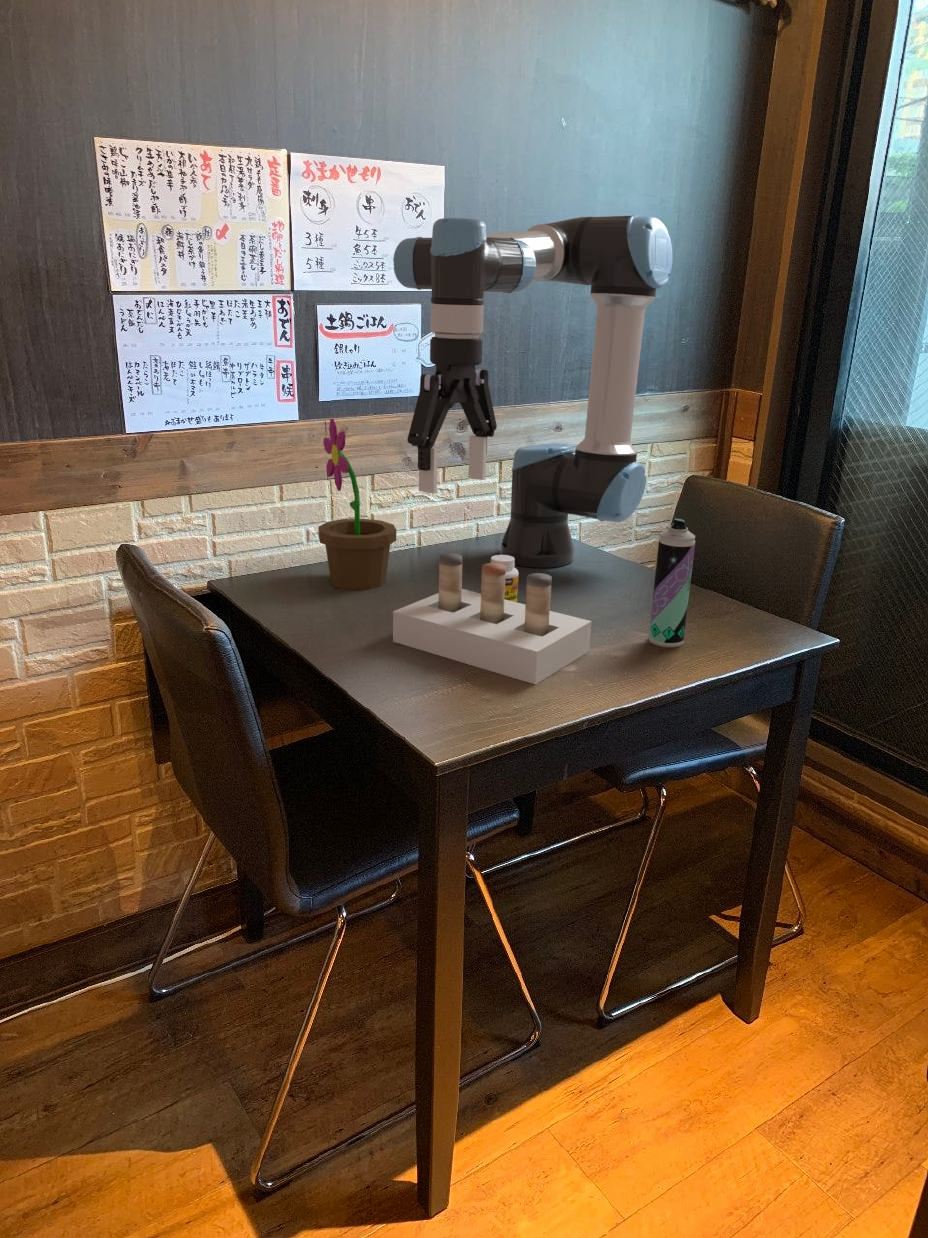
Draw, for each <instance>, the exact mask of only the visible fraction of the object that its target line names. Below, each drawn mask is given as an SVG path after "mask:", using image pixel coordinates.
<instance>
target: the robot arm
mask: <svg viewBox="0 0 928 1238" xmlns="http://www.w3.org/2000/svg"><path fill="white" fill-rule="evenodd" d="M431 235H432V236H431V237H422V236H416V237H409V238H407V237H406V238H405V239H403V240H401V241H400V242H399V243H398V244H397V245H396V248H395V250H394V254H393V257H392V262H393V272H394V273H393V274H394V275H395V277H396V279H397V281H398V282H399V284H400V285H402V286H403V287H405V288H408V289H415V290H416V289H417V290H418V291H421V290H431V297H430V303H431V304H430V305H431V307H430V309H431V310H430V332H431V333H432V334H434V336H431V338H430V340H429V342H430V343H429V360H430V363H431V364H433V365H434V366H435V371H434V374H427V373H422V374H421V375H420V378H419V379H420V380H419V382H420V383H419V393H418V397H417V400H416V404H415V408H414V411H413V415H412V416H413V417H412V418H411V419H412V420H411V424H410V428H409V431H408V435H407V443H408V444H410V445H411V446H412V447H417V469H418V492H422V493H428V494H432V495H433V494H437V489H438V487H437V486H438V447H434V445H435V444H436V443H435V442H436V441H437V439H438V436H439V434H440V431H441V429H442V426H443V424H444V421H445V420H446V417H447V415H448V413H449V411H450V409H452V408H453V407H454V405H455V404H458V403H459V404H460V405H461V407H462V410H463V414H464V415H465V417H466V419H467V421H468V422H467V423H468V424H469V426H470V429H471V431H472V433H473V435H469V439H468V440H469V441H468V472H467V473H468V478H469V479H474V480H479V481H484V480H486V469H487V454H488V437H489V438H493V437H494V435H495V431H496V430H497V427H498V426H497V421H496V415H495V411H494V407H493V406H494V405H493V402H492V401H493V400H492V396H491V392H490V391H491V390H490V386H489V370H488V369H481V368H476V366H479V365H481V364H482V362H483V340H482V338H480V335H482V334H483V333H484V315H485V314H484V312H485V310H484V309H485V308H484V307H485V305H484V302H485V301H484V300H485V298H484V297H485V296H484V295H485V293H503V294H506V293H507V294H512V293H513V292H520V291H523V290H524V289H526V288H527V287H529V286H530V285H531V283H532V281H533V280H534V281H536V282H546V281H547V282H549V281H550V282H557V283H558V282H559V283H565V284H573V285H581V286H583V285H584V286H590V295H589V296H590V297H591V299H592V300H593V301H594V302H595V303H596V306H597V309H596V317H595V318H596V320H595V328H594V337H593V338H594V339H593V348H592V358H591V359H592V360H591V369H590V370H591V372H590V379H589V381H590V382H589V389H588V400H587V411H586V418H585V419H586V421H585V430H584V431H585V432H584V438H583V440H582V441H581V442H579V443H578V444H577V445H576V446H575V452H574V449H573V445H572V444H569V443H561V442H559V443H542V444H541V443H540V444H532V445H531V444H530V445H525V446H521V447H519V448H518V449H516V450H515V452H514V455H513V461H512V467H511V472H512V474H511V493H510V498H511V499H510V500H511V501H510V518H509V522H508V525H507V527H506V531H505V533H504V535H503V538H502V541H501V544H500V553H499V555H509V556H512V557H514V559H515V566H516V565H517V566H521V567H527V568H528V567H530V568H542V569H543V568H544V569H545V568H556V567H562V566H567V565H569V564H571V563H573V561H574V559H575V558H574V557H575V547H574V544H573V543H574V542H573V539H572V535H571V531H570V527H569V521H568V520H569V515H571V516H572V515H573V516H577V517H578V516H579V517H584V518H589V519H594V520H597V521H600V522H610V523H622V522H625V521H626V520H628V519H629V518H630V517H631V516H632V515H633V514H634V513H635V512H636V509H637V508H638V507H639V504H640V503H641V501H642V499H643V497H644V493H645V490H646V485H647V474H646V469H645V468H646V467H645V466H644V465H643V464H641V463H640V462H638V461H637V456H638V451H637V449H636V448H635V447H634V446H633V444H632V443H631V438H632V430H633V429H632V428H633V420H634V410H635V403H636V395H637V394H636V393H637V387H638V386H637V385H638V375H639V368H640V367H639V365H640V357H641V349H642V340H643V333H644V332H643V331H644V325H645V324H644V323H645V315H646V309H647V307H648V306H649V305H651V303H652V302H654V301H655V299H656V294H657V293H656V292H657V289H660V288H662V287H664V286H666V284H667V283H668V281H669V277H670V276H671V273H672V268H673V267H672V266H673V247H672V241H671V236H670V235H669V233H668V228H667V227H666V226H665V224H664V223H663V222H662V221H661V220H660V219H659V218H656V217H654V216H646V215H645V216H643V215H642V216H641V215H634V214H633V215H618V216H614V215H613V216H580V217H574V218H568V219H563V220H559V221H554V222H550V223H549V222H548V223H540V224H539V223H538V224H535V225H533V226H531V227H530V228H528V229H527V230H526V231H511V232H498V233H497V232H496V233H487V227H486V223H485V221H484V220H481V219H478V218H465V217H464V218H463V217H462V218H461V217H460V218H459V217H447V218H444V217H443V218H438V219H437V220H435V221H434V222H433V225H432V233H431Z"/></svg>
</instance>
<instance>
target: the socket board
mask: <svg viewBox="0 0 928 1238" xmlns="http://www.w3.org/2000/svg"><path fill="white" fill-rule="evenodd" d="M438 601H439V592H438V593H437V592H436V593H435V594H432V595H430V596H428V597H426V598H423V599H420V600H417V601H415V602H412V603H411V604H408V605H406V606H402V607H401V608H398V609H395V610H393V611H392V642H393V643H397V644H400V645H403V646H406V647H410V648H413V649H417V650H420V651H423V652H426V653H429V654H433V655H436V656H440V657H443V658H447V659H450V660H452V661H457V662H460V663H463V664H467V665H469V666H472V667H475V668H479V669H482V670H485V671H488V672H492V673H496V674H500V675H502V676H505V677H510V678H513V679H517V680H519V681H522V682H527V683H529V684H531V685H537V684H539V683H541V682H542V681H543V680H545V679H547V678H549V677H550V676H551V675H553V674H556V673H557V672H558V671H560V670H562V669H563V668H564V667H566V666H568V665H569V664H571V663H573V662H575V661H576V660H578V659H579V658H581V657H582V656H584V655H586V654H587V653H589V652H590V643H591V632H592V631H591V630H592V622H593V621H592V620H588V619H583V618H581V617H577V616H576V617H575V616H573V615H568V614H564V613H560V612H556V611H552V610H550V613H549V629H548V634H546V635H544V636H543V637H542V636H538V635H534V634H531V633H527V632H524V624H525V606H526V603H525V604H524V603H520V602H518V601H517V602H513V601H509V600H505V599H504V617H503V621H502V622H500V623H498V624H493V623H490V622H486V621H482V620H480V606H481V592H478V591H477V592H476V591H472V590H468V589H464V588H462V593H461V610H458V611H456V612H454V613H452V612H449V611H445V610H441V609H438Z"/></svg>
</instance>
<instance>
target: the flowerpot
mask: <svg viewBox="0 0 928 1238" xmlns="http://www.w3.org/2000/svg"><path fill="white" fill-rule="evenodd" d="M328 427H329V428H328V431H329V432H328V433H329V437H323V439H322V441H323V442H322V443H323V448H324V451H325V452H326V453H327V454H328V455H331V458H329V459H328V461H327V462H326V468H325V469H326V476H327V478H330V477H334V478H333V479H334V485H335V487H336V489H337V490H336V491H337V492H341V491H342V486H343V478H342V477H343V475H342V473H343V474H348V475H349V476H350V480H351V481H350V482H351V486H352V492H353V496H354V500H352V501H350V502H349V507H350V508H351V509H352V510H353V511H354V518H343V519H342V518H341V519H337V520H332V521H327V522H325V523H323V524H320V525H318V539H319V543H320V544H323V545H324V546H325V551H326V558H327V564H328V570H329V571H328V572H329V577H330V578H329V579H330V582H331V583H330V584H331V585H332V586H334V587H336V588H338V589H343V590H349V591H350V590H351V591H364V590H367V591H368V590H372V589H376V588H379V587H382V586H383V585H385V583H386V582H387V581H386V579H387V572H388V565H389V563H388V562H389V557H390V549H391V545H392V544H393V543H395V542H396V541H397V527H396V526H395V525H394V524H392V523H390V522H387V521H384V520H380V519H370V518H361V512H360V511H361V508H360V506H361V501H360V490H359V489H360V488H359V487H358V481H357V477H356V474H355V471H354V469H353V468H352V465H351V463H350V461H349V460H348V457H346V455H345V454H344V453H343V451H344V448H345V446H346V433H345V431H344V430H343V431H341V432H338V430H337V429H338V428H337V424H336V423H335V420H334V418H330V420H329V426H328Z"/></svg>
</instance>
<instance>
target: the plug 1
mask: <svg viewBox="0 0 928 1238" xmlns="http://www.w3.org/2000/svg"><path fill="white" fill-rule="evenodd" d="M438 561H439V562H438V567H439V568H438V593H439V601H438V609H441V610H445V611H449V612H452V613H454V612H456V611H458V610H461V593H462V589H463V587H462V584H463V555H461V554H458V553H450V552H449V553H441V554H440V555H439V560H438Z"/></svg>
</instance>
